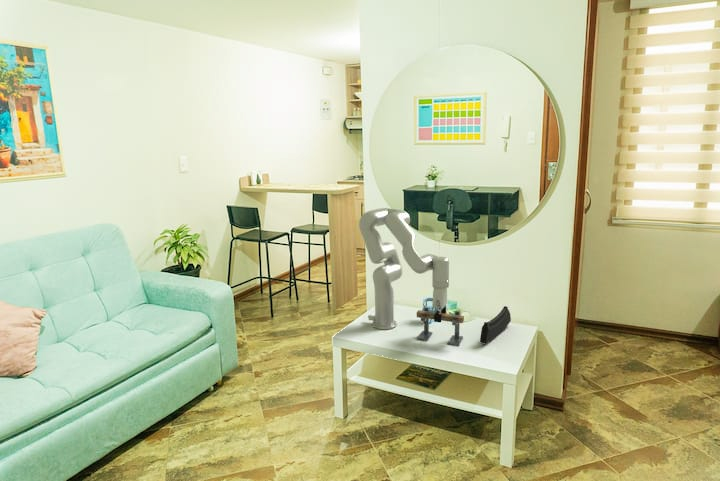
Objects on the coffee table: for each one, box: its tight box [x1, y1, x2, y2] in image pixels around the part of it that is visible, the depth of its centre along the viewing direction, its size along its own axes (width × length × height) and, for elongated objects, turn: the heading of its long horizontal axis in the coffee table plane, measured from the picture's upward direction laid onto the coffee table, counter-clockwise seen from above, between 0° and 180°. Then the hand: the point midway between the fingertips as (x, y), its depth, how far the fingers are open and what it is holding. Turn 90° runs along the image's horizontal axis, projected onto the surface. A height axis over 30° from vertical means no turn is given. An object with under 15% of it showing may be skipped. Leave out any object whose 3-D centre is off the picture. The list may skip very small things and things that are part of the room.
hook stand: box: [416, 307, 464, 347], centre depth 231 cm, size 20×9×14 cm, turn 67°
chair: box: [421, 297, 435, 325], centre depth 254 cm, size 8×8×12 cm
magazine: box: [479, 305, 512, 345], centre depth 234 cm, size 17×3×30 cm
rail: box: [416, 309, 465, 324], centre depth 229 cm, size 22×3×2 cm, turn 67°
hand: (440, 318), depth 229 cm, fingers open, 9 cm apart
